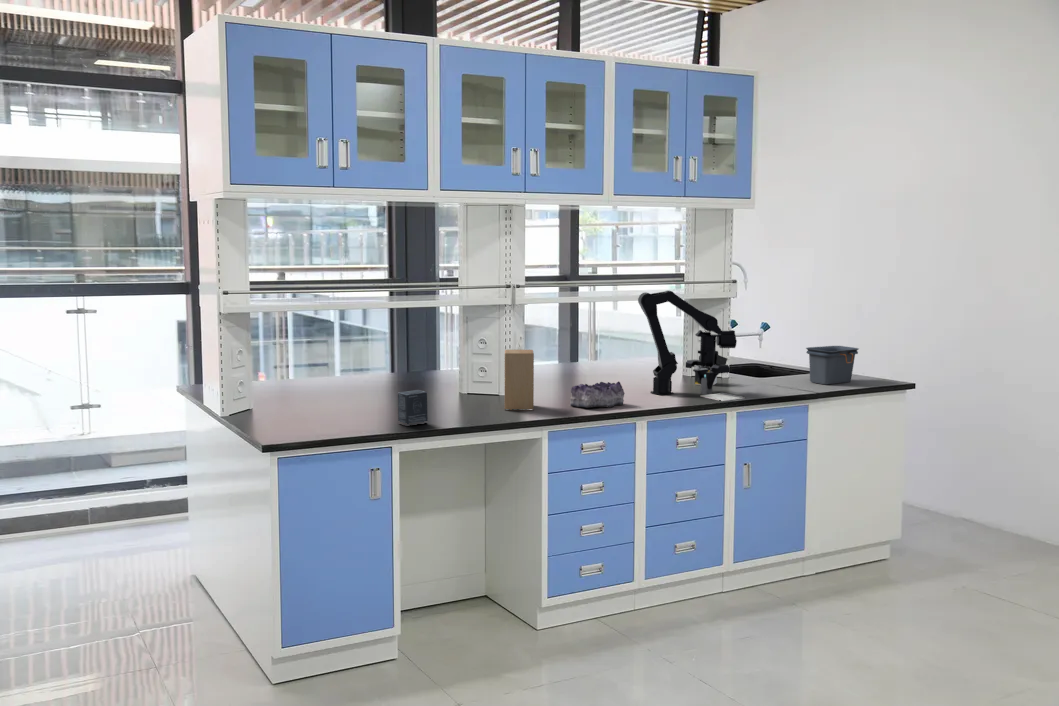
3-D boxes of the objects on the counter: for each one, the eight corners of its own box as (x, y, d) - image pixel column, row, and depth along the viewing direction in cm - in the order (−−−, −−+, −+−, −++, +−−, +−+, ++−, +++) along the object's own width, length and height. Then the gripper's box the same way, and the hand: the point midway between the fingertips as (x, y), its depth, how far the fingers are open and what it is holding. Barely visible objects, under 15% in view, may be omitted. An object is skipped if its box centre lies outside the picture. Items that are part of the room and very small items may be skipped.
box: (418, 421, 317) (418, 389, 315) (428, 424, 312) (427, 391, 311) (397, 424, 312) (397, 391, 310) (407, 427, 307) (406, 394, 306)
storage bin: (833, 377, 412) (835, 344, 410) (865, 382, 399) (866, 348, 398) (800, 382, 400) (802, 347, 398) (832, 387, 387) (833, 352, 385)
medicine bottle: (694, 384, 392) (695, 355, 391) (699, 382, 398) (700, 353, 397) (711, 386, 389) (712, 356, 387) (716, 383, 395) (717, 354, 394)
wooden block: (532, 405, 346) (533, 349, 343) (533, 410, 336) (533, 353, 333) (504, 405, 346) (504, 349, 343) (504, 410, 336) (504, 353, 333)
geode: (612, 401, 356) (615, 374, 353) (629, 410, 346) (633, 383, 343) (564, 403, 346) (567, 376, 344) (580, 413, 336) (583, 385, 334)
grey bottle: (706, 394, 370) (706, 375, 369) (700, 393, 372) (701, 374, 371) (712, 393, 371) (712, 375, 370) (706, 392, 374) (707, 374, 373)
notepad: (722, 401, 355) (722, 399, 355) (700, 396, 365) (700, 395, 365) (744, 398, 361) (744, 397, 361) (721, 393, 371) (721, 392, 371)
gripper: (741, 349, 366) (739, 390, 368) (706, 344, 382) (705, 383, 384) (719, 351, 360) (717, 393, 362) (685, 346, 376) (684, 386, 378)
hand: (706, 388), depth 372 cm, fingers closed on grey bottle, 3 cm apart
